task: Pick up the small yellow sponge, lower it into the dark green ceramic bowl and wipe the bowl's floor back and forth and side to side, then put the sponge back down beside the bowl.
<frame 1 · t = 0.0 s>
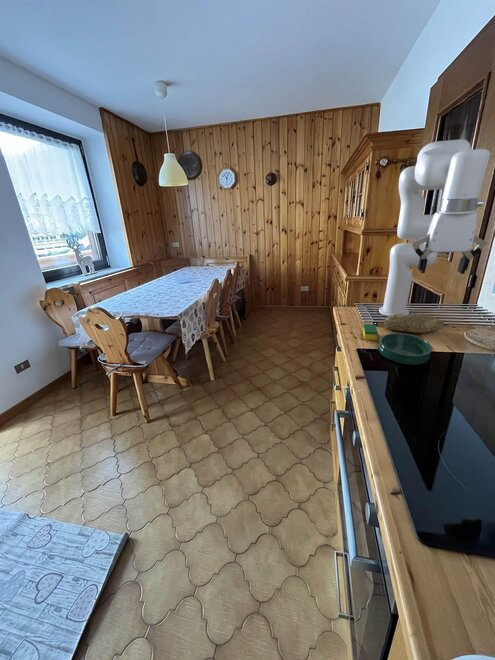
hand: (440, 272, 80), 31 cm above the counter, tool pointing down, fingers open, 9 cm apart
bowl: (403, 353, 100), on the counter
small sponge: (369, 335, 113), on the counter
sponge: (411, 330, 116), on the counter
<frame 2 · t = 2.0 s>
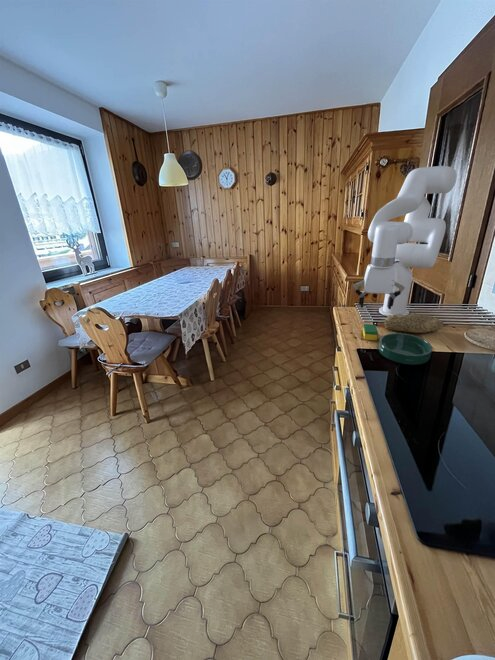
hand: (374, 307, 107), 13 cm above the counter, tool pointing down, fingers open, 9 cm apart
nothing on the counter moved.
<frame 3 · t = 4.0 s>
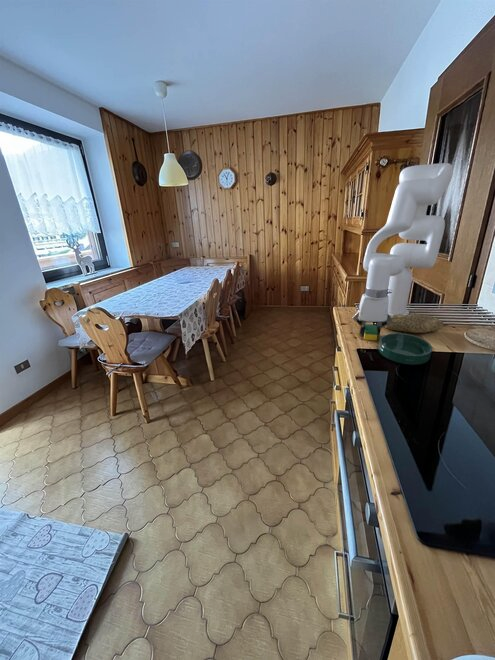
hand: (369, 335, 113), 0 cm above the counter, tool pointing down, fingers closed on small sponge, 4 cm apart
small sponge: (369, 335, 113), on the counter, touching gripper
everything else where it was.
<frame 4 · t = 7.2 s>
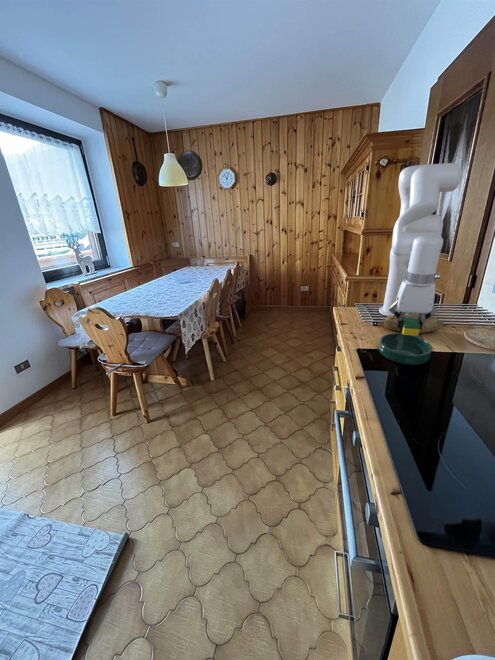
hand: (408, 329, 96), 10 cm above the counter, tool pointing down, fingers closed on small sponge, 4 cm apart
small sponge: (408, 330, 96), point 9 cm above the counter, touching gripper
everything else where it was.
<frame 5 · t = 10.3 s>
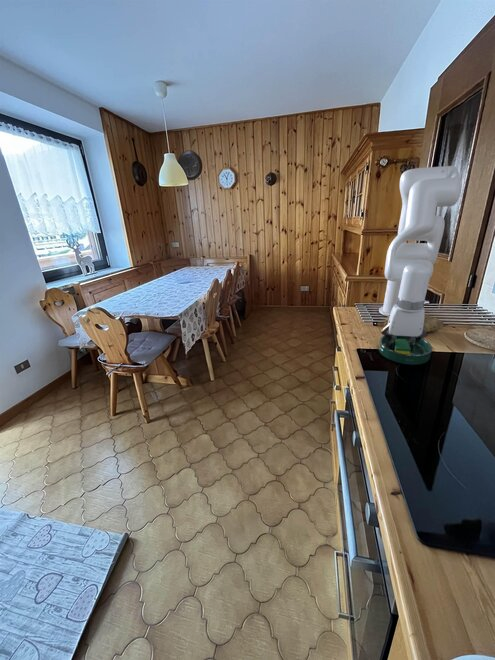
hand: (399, 351, 100), 1 cm above the counter, tool pointing down, fingers closed on small sponge, 4 cm apart
small sponge: (399, 352, 100), point 1 cm above the counter, touching gripper
everything else where it was.
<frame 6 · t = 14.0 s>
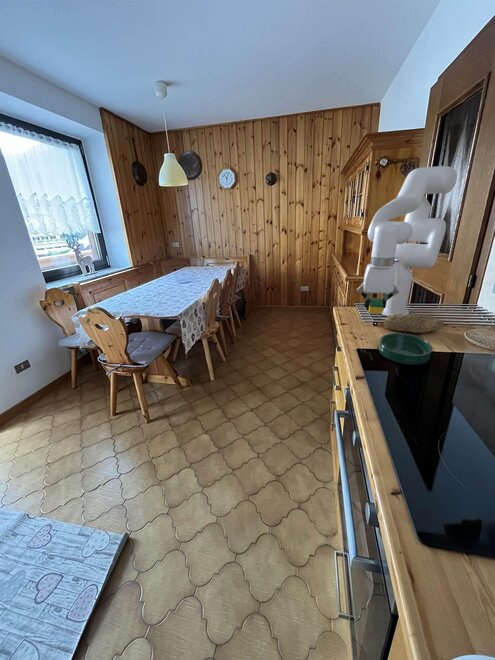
hand: (374, 308, 108), 12 cm above the counter, tool pointing down, fingers closed on small sponge, 4 cm apart
small sponge: (374, 309, 108), point 12 cm above the counter, touching gripper
everything else where it was.
when the fingers open (0 cm above the counter, at t = 16.9 s): small sponge stays where it is, on the counter.
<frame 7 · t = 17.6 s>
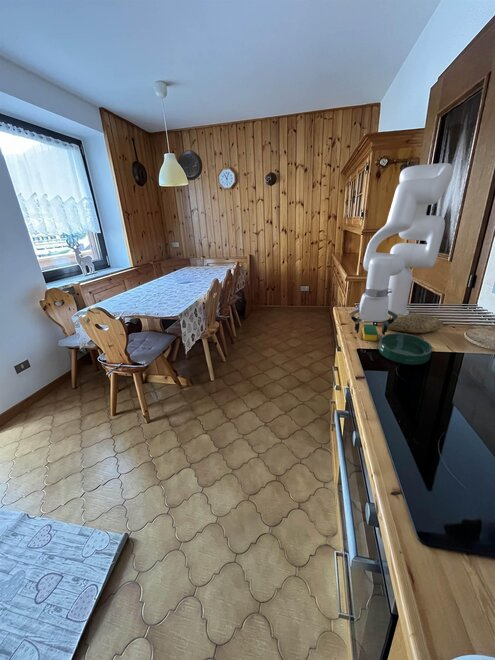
hand: (369, 332, 113), 1 cm above the counter, tool pointing down, fingers open, 9 cm apart
small sponge: (369, 336, 113), on the counter
everything else where it was.
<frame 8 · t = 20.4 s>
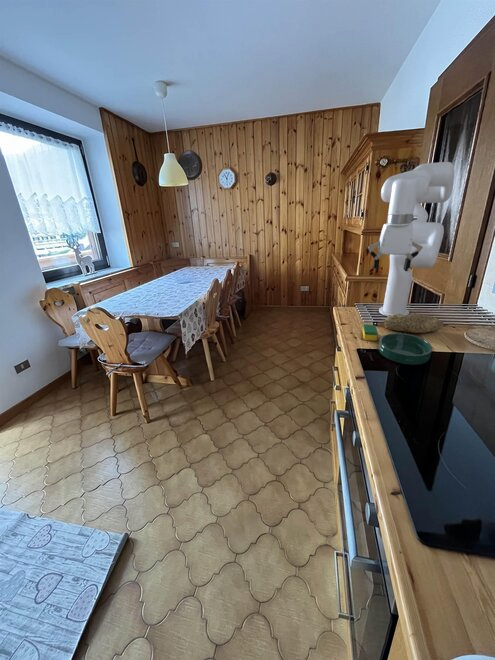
hand: (390, 270, 102), 26 cm above the counter, tool pointing down, fingers open, 9 cm apart
nothing on the counter moved.
at the end: small sponge inside the target area (0.3 cm from its centre), on the counter; the gripper is holding nothing; small sponge tilted 0° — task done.
